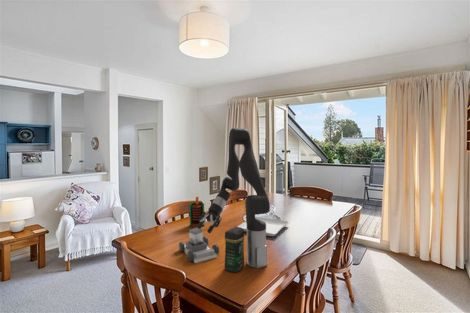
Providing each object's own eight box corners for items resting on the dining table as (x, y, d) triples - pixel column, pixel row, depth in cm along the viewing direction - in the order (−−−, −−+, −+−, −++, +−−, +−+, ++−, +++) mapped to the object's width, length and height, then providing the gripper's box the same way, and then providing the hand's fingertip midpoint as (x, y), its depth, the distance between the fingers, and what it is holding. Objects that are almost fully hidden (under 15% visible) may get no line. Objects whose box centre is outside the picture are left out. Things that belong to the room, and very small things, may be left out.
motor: (190, 228, 173) (190, 199, 172) (189, 224, 182) (188, 196, 181) (205, 226, 176) (204, 198, 175) (203, 222, 185) (203, 195, 183)
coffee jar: (237, 274, 112) (236, 233, 111) (222, 270, 116) (221, 230, 115) (247, 265, 120) (246, 226, 119) (232, 261, 124) (232, 224, 123)
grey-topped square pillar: (202, 247, 137) (202, 229, 137) (195, 250, 133) (195, 232, 133) (196, 245, 140) (196, 227, 140) (189, 248, 137) (189, 229, 136)
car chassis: (220, 256, 130) (220, 246, 129) (191, 264, 122) (191, 254, 121) (203, 243, 147) (203, 234, 146) (178, 249, 139) (178, 240, 138)
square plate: (254, 220, 189) (254, 215, 189) (289, 226, 175) (289, 221, 175) (235, 232, 166) (235, 226, 166) (275, 239, 152) (275, 233, 152)
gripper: (205, 200, 151) (191, 224, 143) (223, 204, 141) (208, 230, 133) (212, 207, 155) (198, 231, 147) (229, 211, 146) (215, 237, 138)
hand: (203, 230), depth 140 cm, fingers open, 8 cm apart
